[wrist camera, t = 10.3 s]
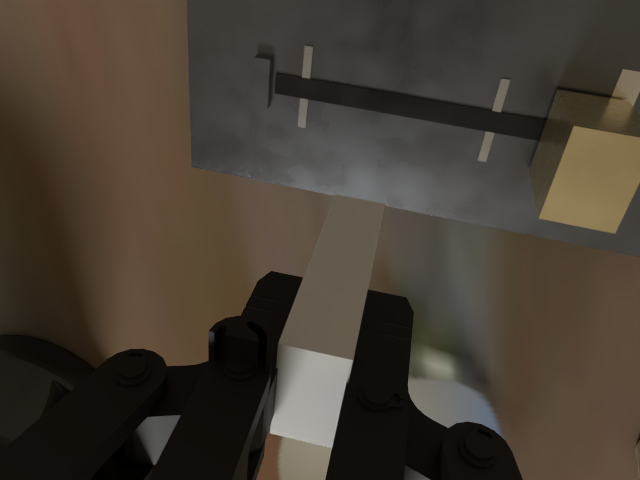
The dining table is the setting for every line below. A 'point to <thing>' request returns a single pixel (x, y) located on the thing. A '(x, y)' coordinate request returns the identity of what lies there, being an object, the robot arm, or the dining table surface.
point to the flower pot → (638, 455)
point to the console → (406, 98)
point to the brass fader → (587, 161)
